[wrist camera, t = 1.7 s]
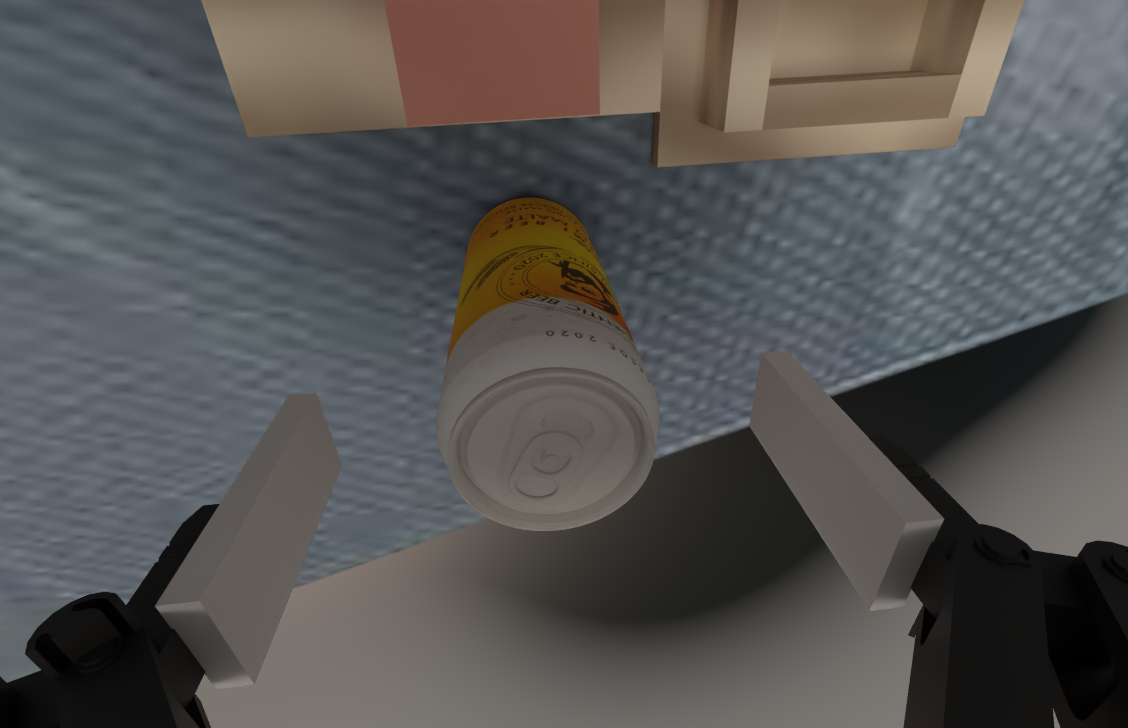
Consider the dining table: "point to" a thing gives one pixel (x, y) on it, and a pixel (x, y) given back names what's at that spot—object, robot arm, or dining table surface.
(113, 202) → the dining table surface
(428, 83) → the salmon pink block
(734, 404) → the dining table surface
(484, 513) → the beer can
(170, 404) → the dining table surface
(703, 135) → the dock
